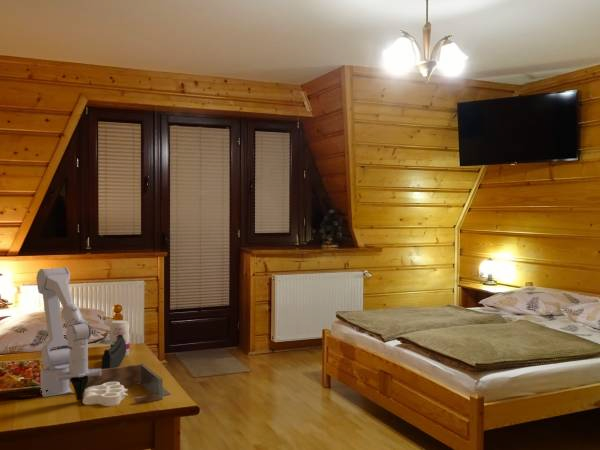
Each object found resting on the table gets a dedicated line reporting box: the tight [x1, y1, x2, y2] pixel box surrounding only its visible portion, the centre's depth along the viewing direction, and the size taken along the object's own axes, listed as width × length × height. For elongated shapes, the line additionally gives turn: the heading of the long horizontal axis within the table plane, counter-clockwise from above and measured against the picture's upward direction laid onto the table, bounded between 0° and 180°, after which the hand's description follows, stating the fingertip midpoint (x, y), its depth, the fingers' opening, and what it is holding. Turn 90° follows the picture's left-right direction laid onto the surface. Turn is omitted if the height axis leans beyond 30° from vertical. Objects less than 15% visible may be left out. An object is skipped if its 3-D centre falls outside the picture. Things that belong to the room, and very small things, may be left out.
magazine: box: [100, 335, 126, 369], centre depth 239 cm, size 17×3×30 cm
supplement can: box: [109, 319, 131, 358], centre depth 260 cm, size 8×8×15 cm
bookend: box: [140, 363, 172, 401], centre depth 211 cm, size 5×23×7 cm, turn 31°
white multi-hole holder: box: [82, 382, 129, 407], centre depth 202 cm, size 3×18×15 cm
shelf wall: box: [83, 363, 159, 405], centre depth 204 cm, size 23×23×7 cm
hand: (79, 399), depth 198 cm, fingers closed
